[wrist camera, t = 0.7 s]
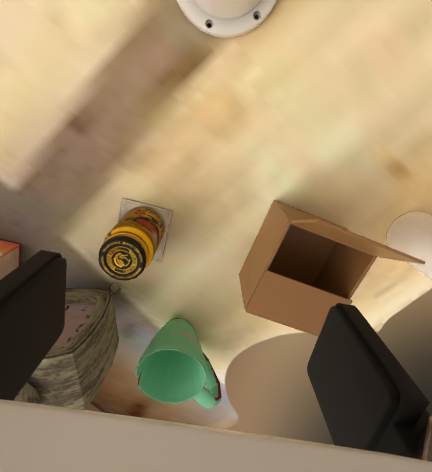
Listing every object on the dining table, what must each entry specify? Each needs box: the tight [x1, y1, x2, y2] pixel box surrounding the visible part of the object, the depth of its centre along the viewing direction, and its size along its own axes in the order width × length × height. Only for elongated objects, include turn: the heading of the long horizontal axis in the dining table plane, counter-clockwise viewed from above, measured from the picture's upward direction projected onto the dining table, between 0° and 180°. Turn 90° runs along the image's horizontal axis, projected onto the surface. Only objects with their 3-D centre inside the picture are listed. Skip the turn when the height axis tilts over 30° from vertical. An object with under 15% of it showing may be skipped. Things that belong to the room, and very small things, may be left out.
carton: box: [239, 200, 377, 336], centre depth 41 cm, size 13×12×10 cm
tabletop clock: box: [13, 284, 121, 410], centre depth 37 cm, size 14×9×25 cm, turn 91°
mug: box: [135, 319, 221, 409], centre depth 46 cm, size 15×10×10 cm
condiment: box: [99, 198, 172, 280], centre depth 39 cm, size 7×8×12 cm
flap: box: [291, 219, 425, 264], centre depth 31 cm, size 6×12×1 cm
